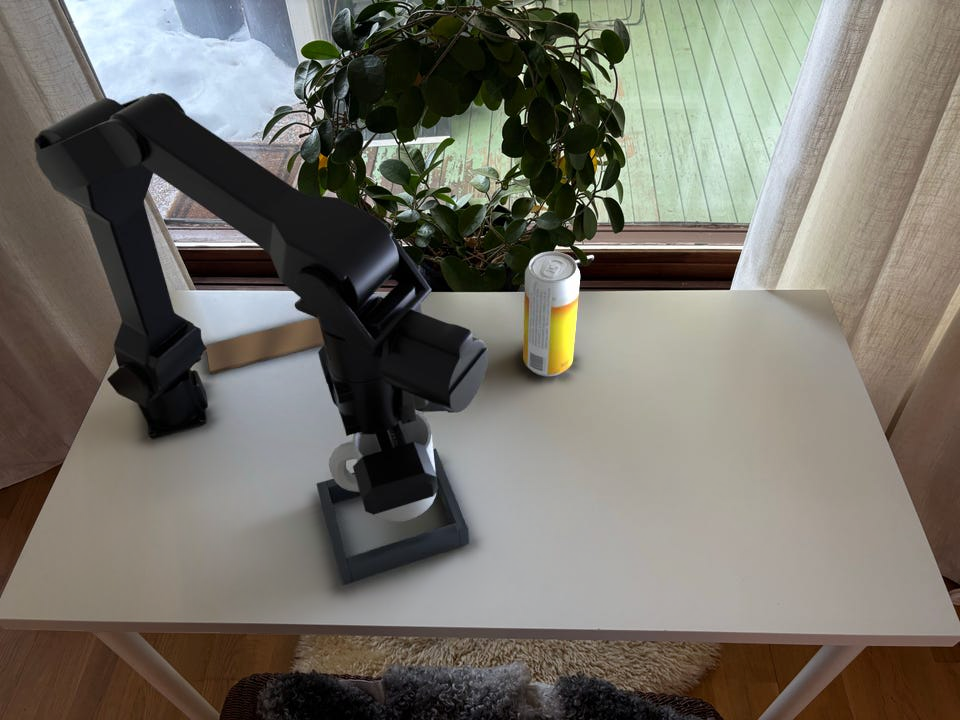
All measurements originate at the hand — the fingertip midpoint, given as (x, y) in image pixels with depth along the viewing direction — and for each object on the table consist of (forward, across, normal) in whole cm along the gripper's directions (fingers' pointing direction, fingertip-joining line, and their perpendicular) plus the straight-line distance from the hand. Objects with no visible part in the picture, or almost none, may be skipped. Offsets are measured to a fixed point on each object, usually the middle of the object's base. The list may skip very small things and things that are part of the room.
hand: (384, 472), depth 75 cm
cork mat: (+9, +31, +8) cm, 33 cm away
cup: (+4, 0, 0) cm, 4 cm away
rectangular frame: (+8, 0, 0) cm, 8 cm away
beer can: (+9, +16, -24) cm, 30 cm away
